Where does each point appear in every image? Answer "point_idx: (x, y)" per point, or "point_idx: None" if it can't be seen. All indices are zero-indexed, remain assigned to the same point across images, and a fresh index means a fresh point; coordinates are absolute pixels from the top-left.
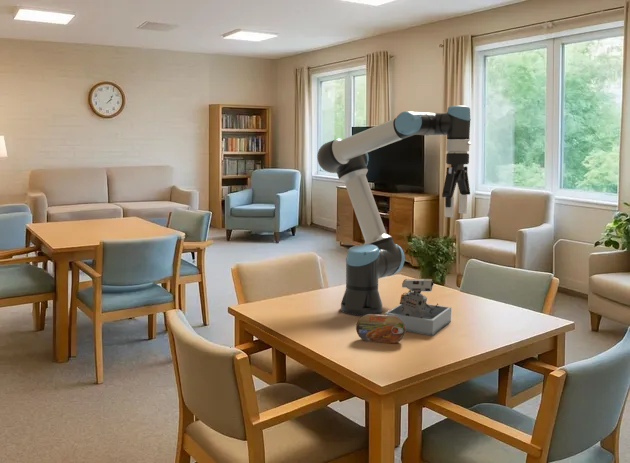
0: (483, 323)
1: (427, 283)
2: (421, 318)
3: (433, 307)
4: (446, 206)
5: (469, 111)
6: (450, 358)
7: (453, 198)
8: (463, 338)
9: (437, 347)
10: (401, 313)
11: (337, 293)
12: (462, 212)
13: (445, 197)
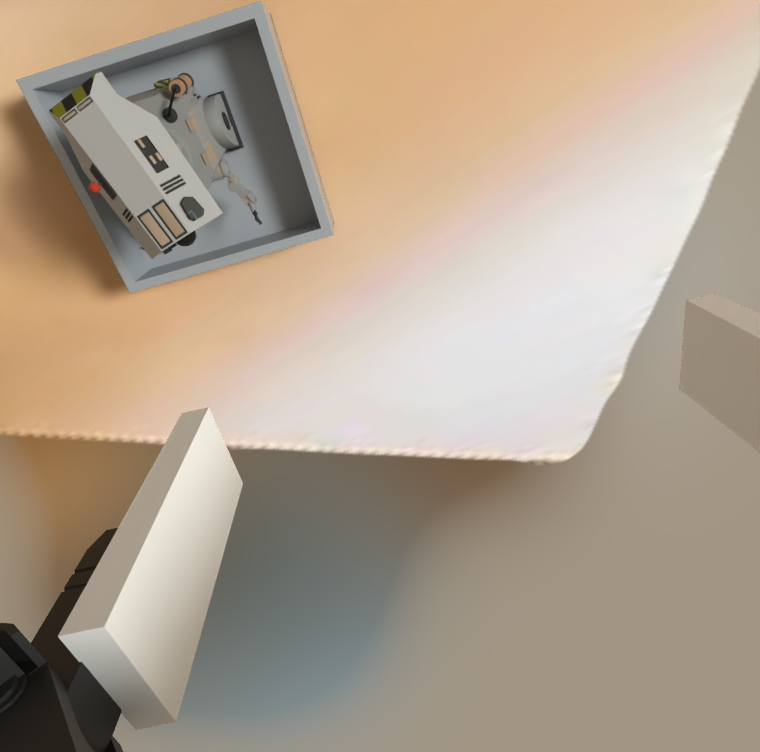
0: (399, 311)
1: (145, 238)
2: (109, 249)
3: (249, 202)
4: (102, 551)
5: None
6: (51, 416)
7: (174, 706)
8: (215, 352)
9: (82, 349)
10: (199, 44)
11: None
12: (688, 354)
13: (64, 641)
